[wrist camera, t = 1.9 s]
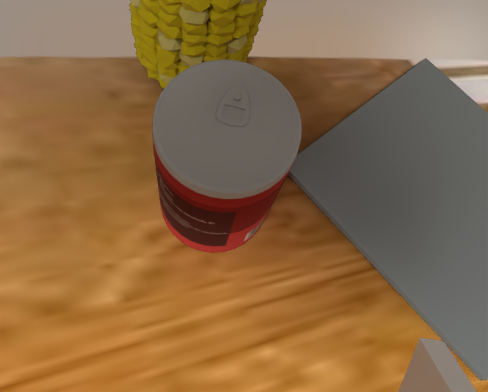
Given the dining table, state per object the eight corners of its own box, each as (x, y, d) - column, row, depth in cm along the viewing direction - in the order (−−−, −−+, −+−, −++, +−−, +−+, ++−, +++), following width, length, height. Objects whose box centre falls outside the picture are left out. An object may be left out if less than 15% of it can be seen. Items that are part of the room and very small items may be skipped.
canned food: (260, 155, 34) (294, 59, 24) (270, 254, 31) (313, 193, 21) (160, 154, 33) (152, 54, 23) (160, 258, 30) (149, 195, 20)
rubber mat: (282, 168, 34) (283, 164, 33) (422, 62, 40) (425, 58, 39) (480, 380, 29) (486, 380, 29) (602, 223, 36) (609, 221, 35)
